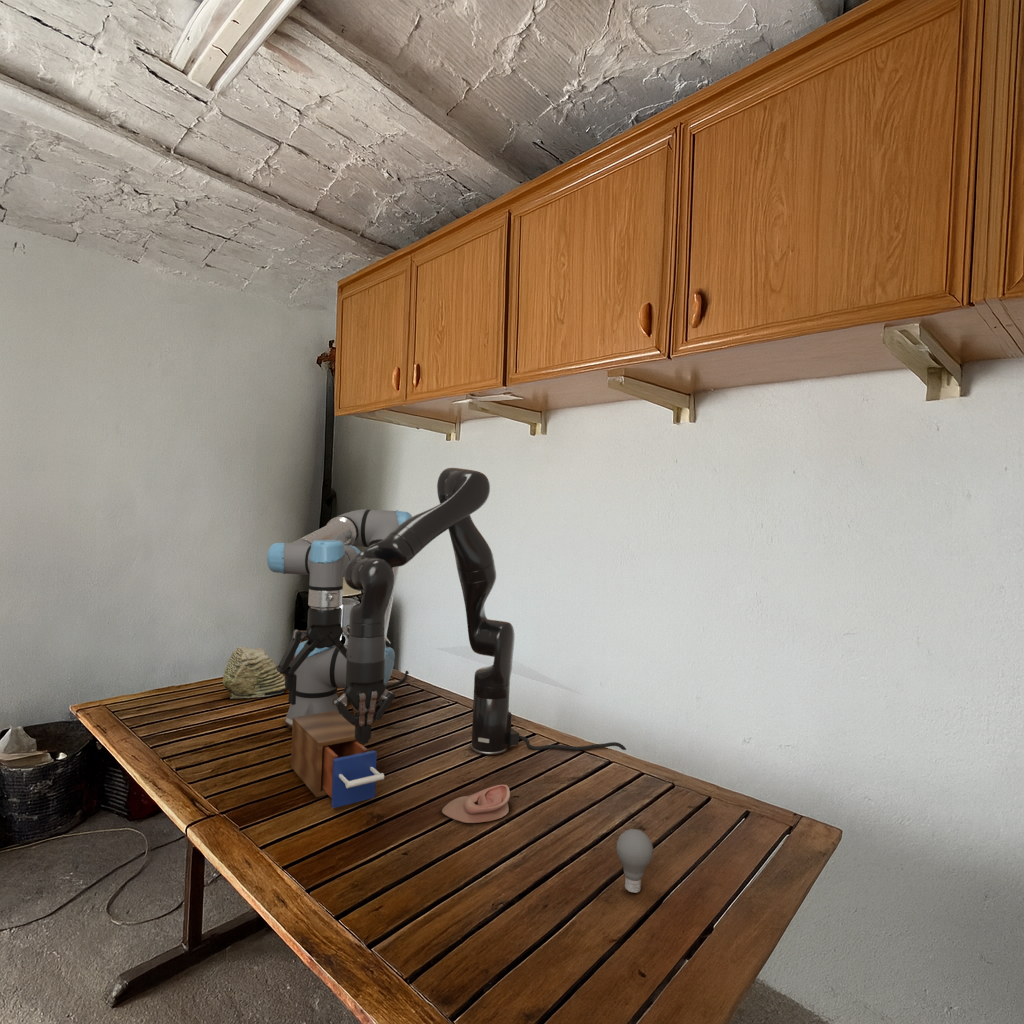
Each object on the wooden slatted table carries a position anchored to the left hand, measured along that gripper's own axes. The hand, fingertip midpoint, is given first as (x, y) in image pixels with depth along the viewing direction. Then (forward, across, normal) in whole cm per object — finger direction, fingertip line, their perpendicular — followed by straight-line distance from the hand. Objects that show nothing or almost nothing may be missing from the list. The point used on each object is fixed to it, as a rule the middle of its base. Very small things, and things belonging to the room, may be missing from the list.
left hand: (321, 698), depth 147 cm
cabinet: (+16, 0, -4) cm, 17 cm away
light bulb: (+16, +28, -72) cm, 79 cm away
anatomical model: (+16, +21, -35) cm, 44 cm away
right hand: (+2, 0, -24) cm, 24 cm away
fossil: (+17, +1, +62) cm, 65 cm away
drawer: (+16, 0, -16) cm, 22 cm away
